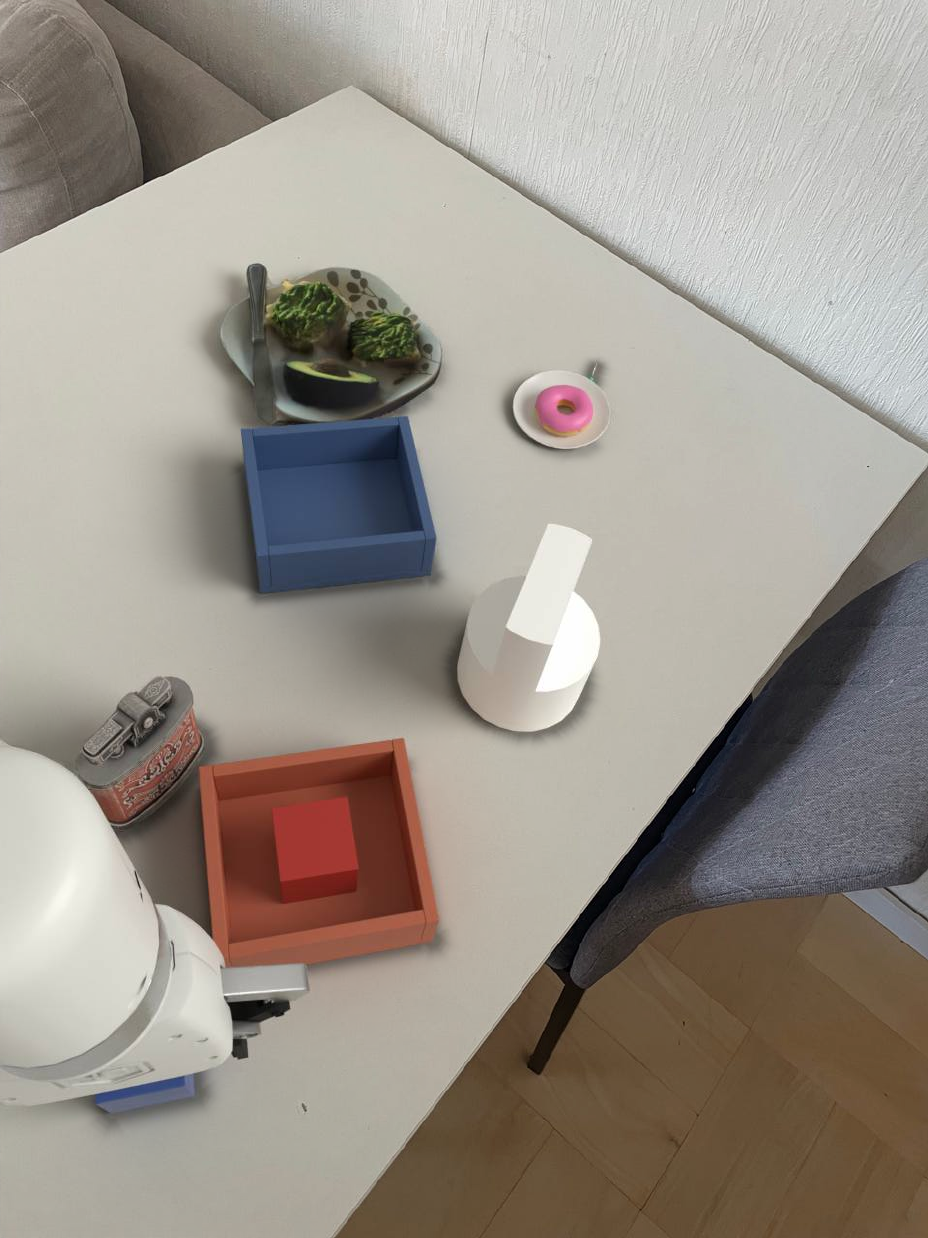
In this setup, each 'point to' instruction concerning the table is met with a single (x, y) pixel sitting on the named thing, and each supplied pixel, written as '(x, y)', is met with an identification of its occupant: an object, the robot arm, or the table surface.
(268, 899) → the terracotta bin
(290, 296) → the salad plate
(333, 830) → the red block
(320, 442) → the blue bin
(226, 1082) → the table surface
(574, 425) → the donut
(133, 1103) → the blue block
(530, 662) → the cylinder with rectangular tab
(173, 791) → the lighter
